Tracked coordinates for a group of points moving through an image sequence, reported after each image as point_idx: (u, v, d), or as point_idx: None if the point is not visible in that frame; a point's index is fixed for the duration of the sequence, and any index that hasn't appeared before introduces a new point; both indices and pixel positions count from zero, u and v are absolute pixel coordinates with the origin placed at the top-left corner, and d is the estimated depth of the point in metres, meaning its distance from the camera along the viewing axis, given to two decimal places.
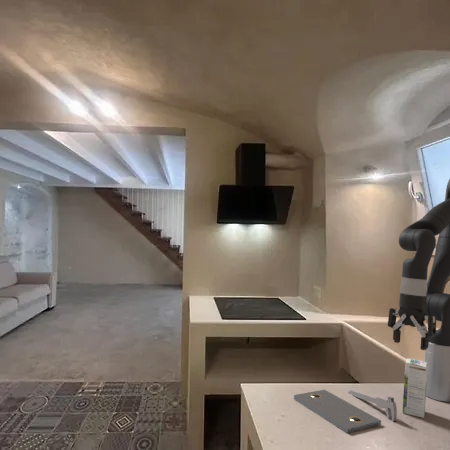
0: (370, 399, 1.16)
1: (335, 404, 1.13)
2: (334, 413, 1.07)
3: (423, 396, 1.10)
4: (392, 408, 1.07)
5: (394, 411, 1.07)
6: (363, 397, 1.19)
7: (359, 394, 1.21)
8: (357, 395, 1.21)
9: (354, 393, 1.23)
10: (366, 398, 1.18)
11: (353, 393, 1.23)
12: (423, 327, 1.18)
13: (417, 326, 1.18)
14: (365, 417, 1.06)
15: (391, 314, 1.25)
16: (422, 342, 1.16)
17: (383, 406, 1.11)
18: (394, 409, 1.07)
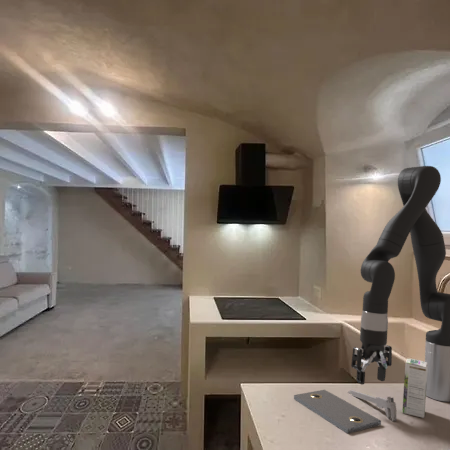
0: (370, 399, 1.16)
1: (335, 404, 1.13)
2: (334, 413, 1.07)
3: (423, 396, 1.10)
4: (392, 408, 1.07)
5: (393, 411, 1.07)
6: (363, 397, 1.19)
7: (359, 394, 1.21)
8: (357, 395, 1.22)
9: (354, 393, 1.23)
10: (366, 398, 1.18)
11: (353, 393, 1.23)
12: None
13: (383, 360, 1.16)
14: (365, 417, 1.06)
15: (361, 355, 1.13)
16: (384, 373, 1.18)
17: (383, 406, 1.11)
18: (394, 409, 1.07)
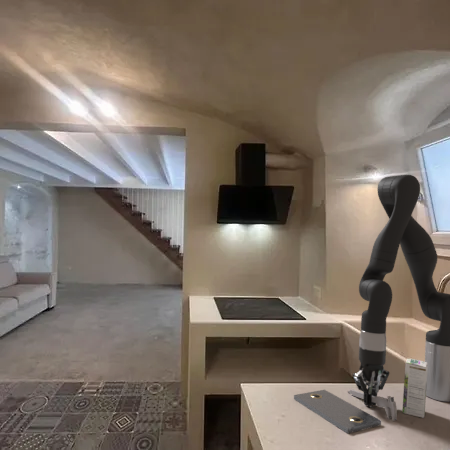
0: None
1: (335, 404, 1.13)
2: (334, 413, 1.07)
3: (423, 396, 1.10)
4: (392, 407, 1.07)
5: (394, 411, 1.07)
6: (363, 396, 1.19)
7: (359, 393, 1.21)
8: (357, 394, 1.22)
9: (353, 392, 1.23)
10: None
11: (353, 392, 1.23)
12: None
13: (378, 381, 1.16)
14: (365, 417, 1.06)
15: (362, 380, 1.14)
16: None
17: (383, 406, 1.11)
18: (394, 408, 1.07)
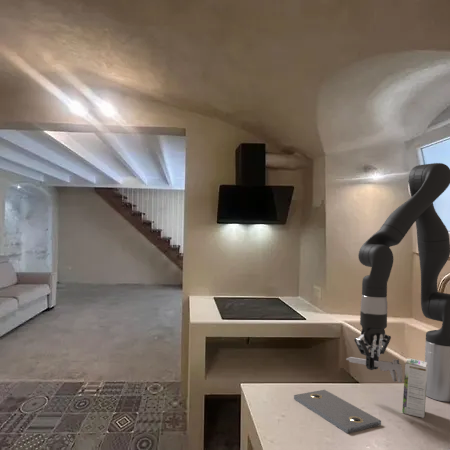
0: None
1: (335, 404, 1.13)
2: (334, 413, 1.07)
3: (423, 396, 1.10)
4: (398, 369, 1.08)
5: (400, 373, 1.08)
6: (364, 362, 1.19)
7: (359, 360, 1.21)
8: (357, 361, 1.22)
9: (353, 359, 1.23)
10: None
11: (352, 360, 1.24)
12: None
13: (380, 345, 1.16)
14: (365, 417, 1.06)
15: (364, 344, 1.14)
16: None
17: (387, 369, 1.12)
18: (400, 370, 1.08)
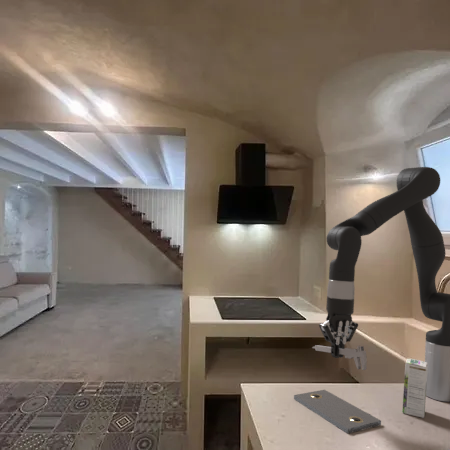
0: None
1: (335, 404, 1.13)
2: (334, 413, 1.07)
3: (423, 396, 1.10)
4: (362, 356, 1.03)
5: (364, 360, 1.03)
6: (330, 350, 1.14)
7: (325, 348, 1.16)
8: (323, 349, 1.16)
9: (319, 347, 1.18)
10: None
11: (318, 348, 1.18)
12: None
13: (346, 332, 1.11)
14: (365, 417, 1.06)
15: (329, 330, 1.09)
16: None
17: (352, 356, 1.06)
18: (364, 357, 1.03)
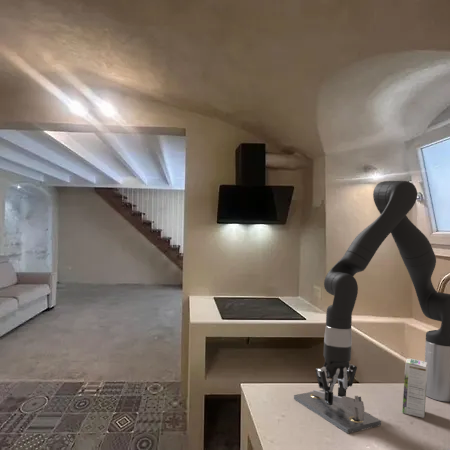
0: (335, 399, 1.11)
1: (335, 404, 1.13)
2: (334, 413, 1.07)
3: (423, 396, 1.10)
4: (360, 408, 1.03)
5: (361, 411, 1.02)
6: None
7: (323, 394, 1.15)
8: (321, 395, 1.16)
9: (317, 393, 1.18)
10: None
11: (316, 393, 1.18)
12: None
13: (345, 378, 1.11)
14: (365, 417, 1.06)
15: (324, 376, 1.08)
16: (344, 395, 1.12)
17: (350, 406, 1.06)
18: (362, 408, 1.03)
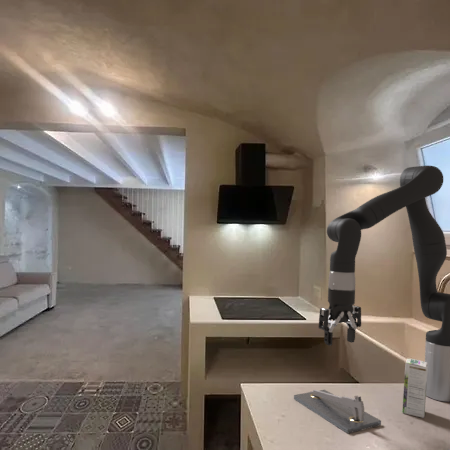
0: (335, 399, 1.11)
1: (335, 404, 1.13)
2: (334, 413, 1.07)
3: (423, 396, 1.10)
4: (360, 408, 1.03)
5: (361, 411, 1.02)
6: (327, 397, 1.14)
7: (323, 394, 1.15)
8: (321, 395, 1.16)
9: (317, 393, 1.18)
10: (331, 398, 1.12)
11: (316, 393, 1.18)
12: None
13: (352, 320, 1.13)
14: (365, 417, 1.06)
15: (327, 316, 1.10)
16: (353, 335, 1.15)
17: (350, 406, 1.06)
18: (362, 408, 1.03)
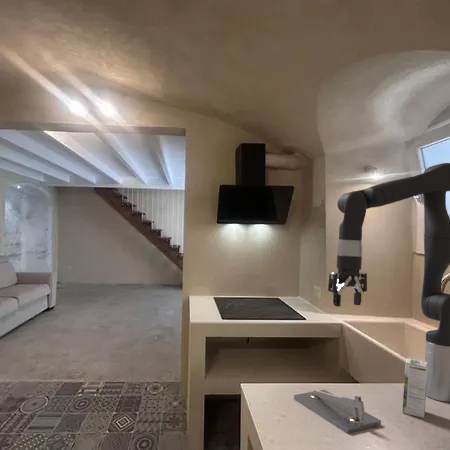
0: (335, 399, 1.11)
1: (335, 404, 1.13)
2: (334, 413, 1.07)
3: (423, 396, 1.10)
4: (360, 408, 1.03)
5: (361, 411, 1.02)
6: (327, 397, 1.14)
7: (323, 394, 1.15)
8: (321, 395, 1.16)
9: (317, 393, 1.18)
10: (331, 398, 1.12)
11: (316, 393, 1.18)
12: None
13: (358, 285, 1.24)
14: (365, 417, 1.06)
15: (336, 279, 1.21)
16: (360, 298, 1.26)
17: (350, 406, 1.06)
18: (362, 408, 1.03)
